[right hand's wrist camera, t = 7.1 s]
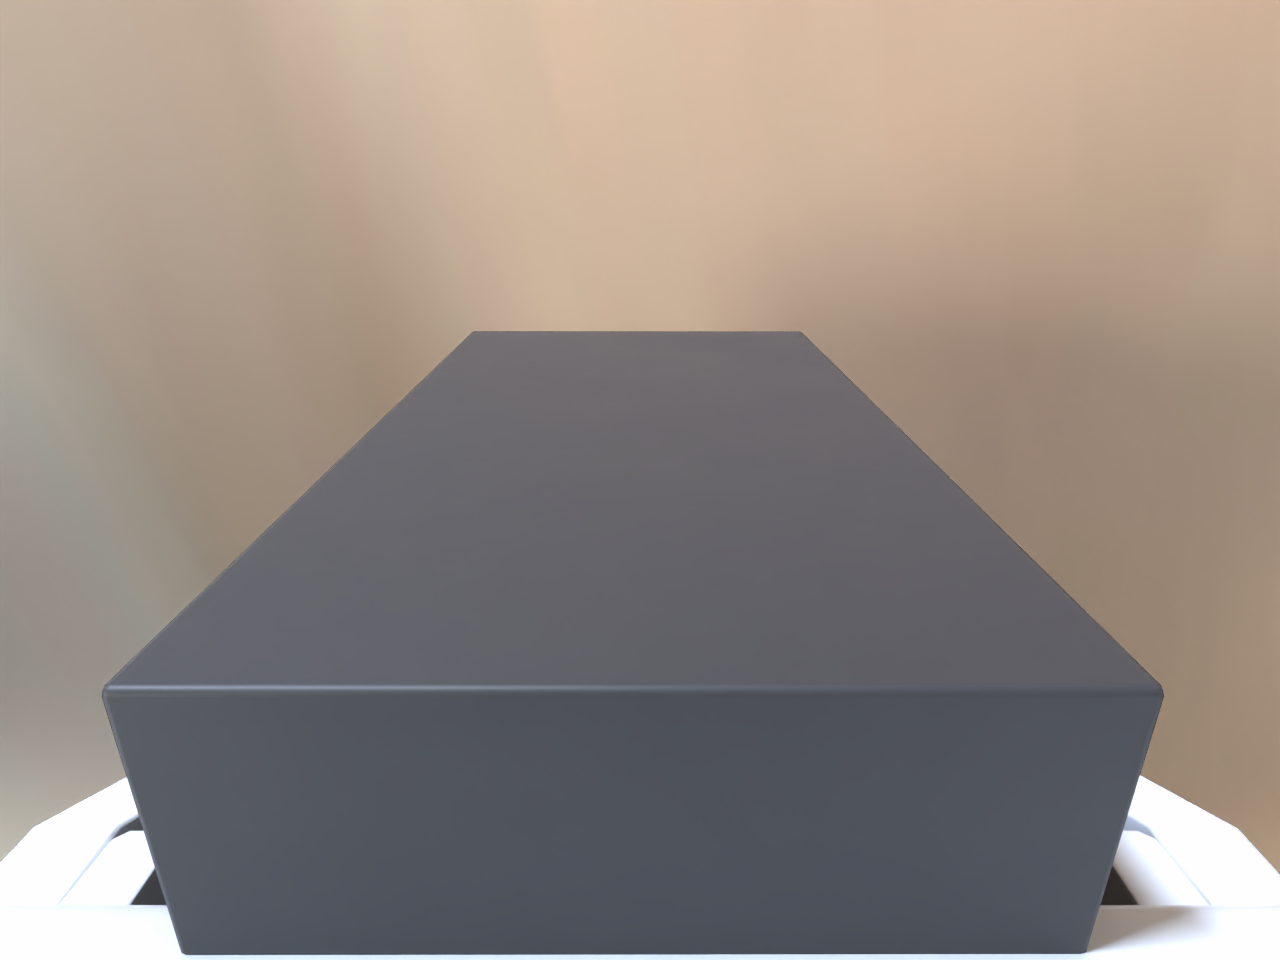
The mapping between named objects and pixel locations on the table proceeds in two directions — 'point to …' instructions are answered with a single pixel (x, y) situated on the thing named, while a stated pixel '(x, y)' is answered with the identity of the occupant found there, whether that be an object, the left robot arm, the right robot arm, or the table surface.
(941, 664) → the box
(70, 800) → the table surface
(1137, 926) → the right robot arm
